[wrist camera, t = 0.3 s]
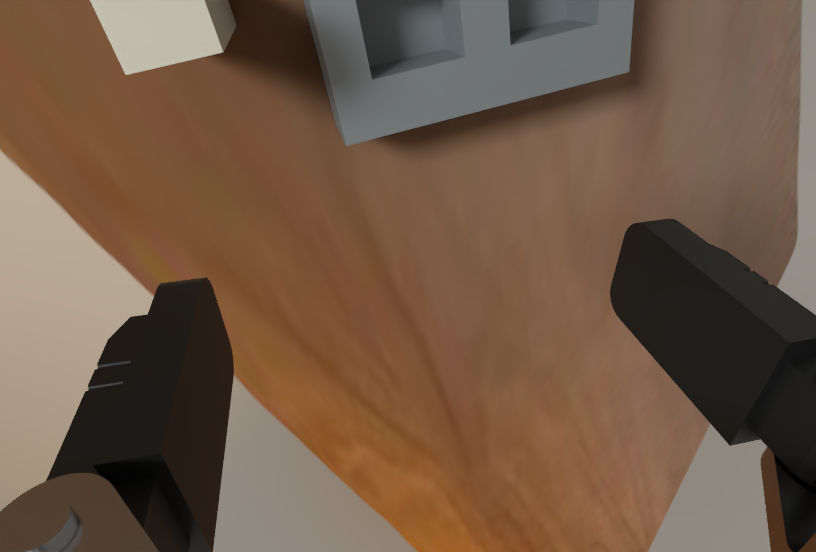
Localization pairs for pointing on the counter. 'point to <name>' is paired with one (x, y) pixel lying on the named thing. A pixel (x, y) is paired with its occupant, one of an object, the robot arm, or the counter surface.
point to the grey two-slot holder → (458, 56)
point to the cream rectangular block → (164, 30)
